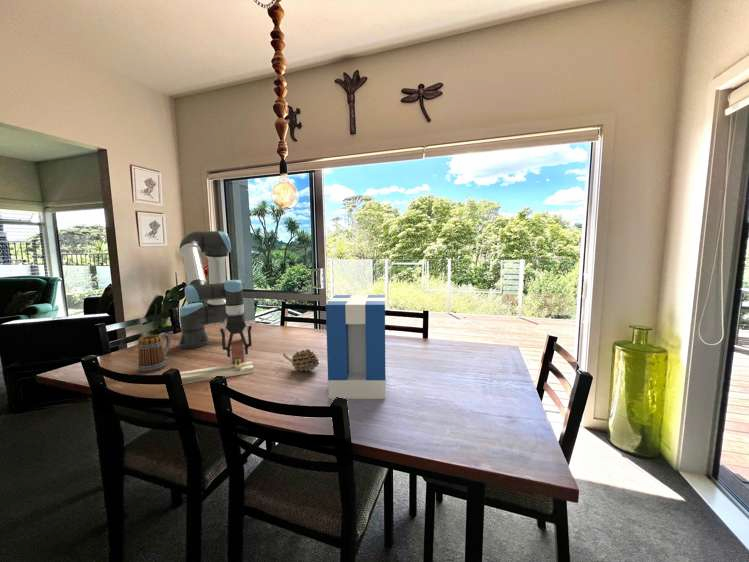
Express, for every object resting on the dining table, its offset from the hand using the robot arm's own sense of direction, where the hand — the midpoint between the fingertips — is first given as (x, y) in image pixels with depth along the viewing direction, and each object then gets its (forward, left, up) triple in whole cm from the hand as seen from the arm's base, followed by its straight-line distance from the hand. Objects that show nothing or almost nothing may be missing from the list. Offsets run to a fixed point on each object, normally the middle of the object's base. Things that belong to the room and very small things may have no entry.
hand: (238, 362), depth 147 cm
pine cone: (+17, +25, -2) cm, 30 cm away
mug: (-15, -35, -2) cm, 38 cm away
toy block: (+44, +44, -2) cm, 62 cm away
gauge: (+5, 0, -1) cm, 5 cm away
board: (+7, -9, -2) cm, 11 cm away
